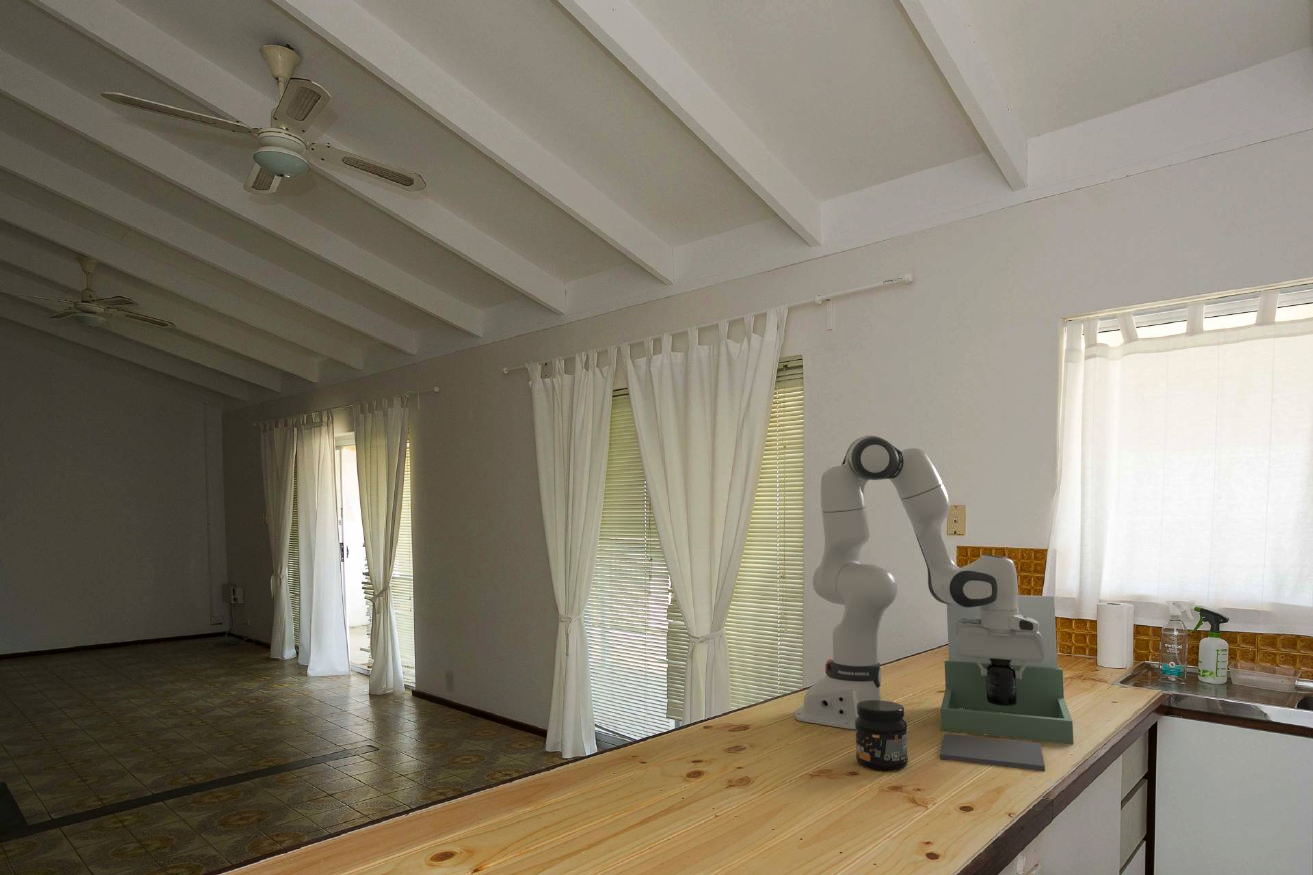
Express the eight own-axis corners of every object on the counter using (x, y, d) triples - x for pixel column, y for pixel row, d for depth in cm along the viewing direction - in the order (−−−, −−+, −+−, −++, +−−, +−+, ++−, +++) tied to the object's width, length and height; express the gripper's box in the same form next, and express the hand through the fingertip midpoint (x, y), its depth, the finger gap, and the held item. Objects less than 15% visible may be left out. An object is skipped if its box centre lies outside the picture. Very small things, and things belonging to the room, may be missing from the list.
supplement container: (849, 756, 167) (847, 699, 168) (897, 755, 168) (895, 698, 169) (865, 773, 157) (863, 712, 158) (916, 772, 158) (914, 711, 159)
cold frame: (941, 730, 186) (936, 603, 189) (946, 705, 209) (942, 592, 211) (1073, 743, 175) (1066, 608, 178) (1064, 716, 198) (1058, 596, 200)
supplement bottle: (1022, 706, 189) (1020, 656, 190) (993, 706, 189) (992, 655, 190) (1009, 700, 196) (1007, 651, 197) (982, 699, 196) (980, 651, 197)
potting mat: (940, 758, 165) (940, 753, 166) (944, 737, 180) (944, 733, 180) (1045, 770, 158) (1044, 765, 158) (1040, 748, 172) (1040, 743, 172)
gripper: (954, 619, 195) (955, 676, 194) (1045, 624, 187) (1047, 683, 186) (955, 616, 201) (956, 671, 199) (1043, 621, 193) (1046, 678, 191)
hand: (1001, 677), depth 193 cm, fingers closed on supplement bottle, 6 cm apart
